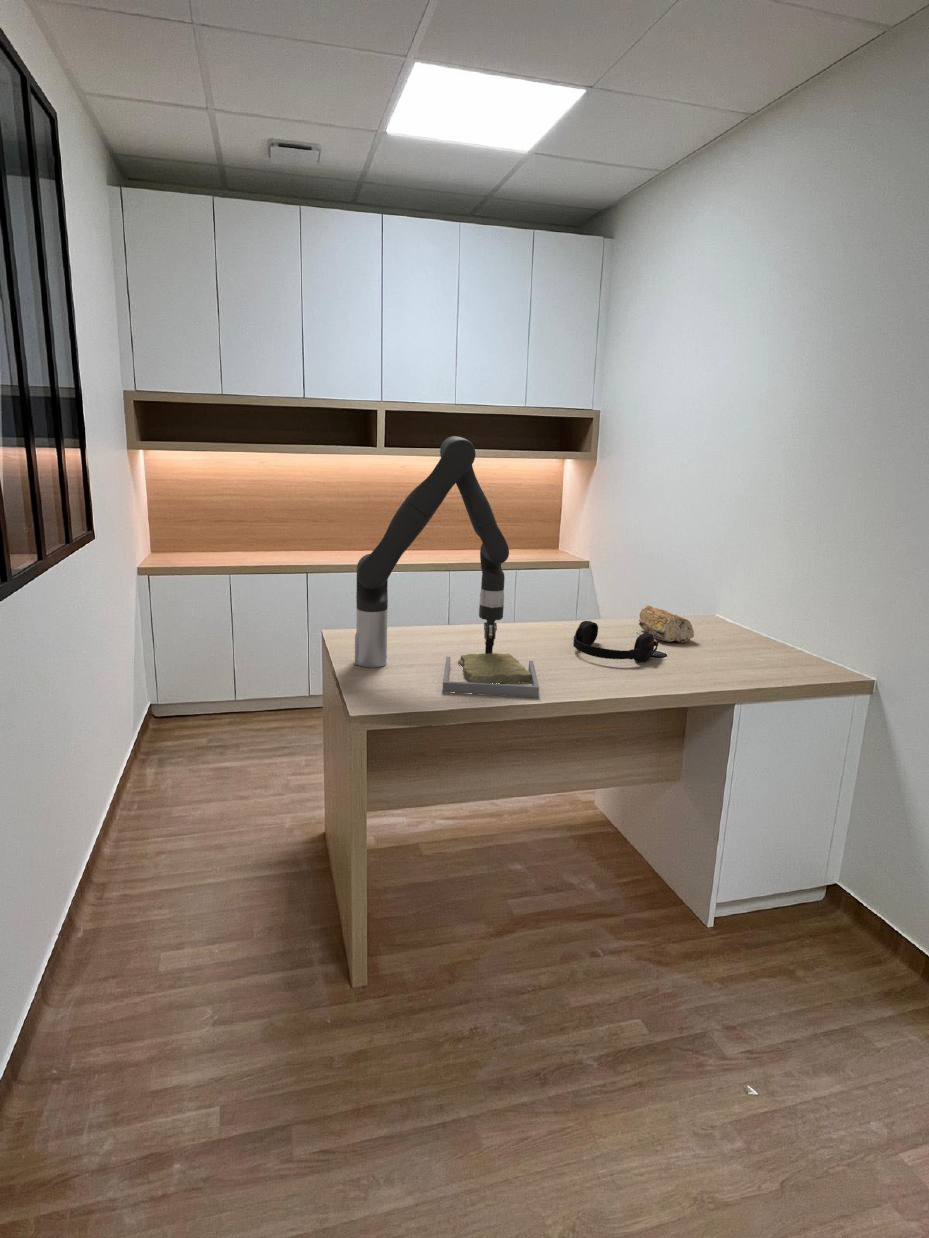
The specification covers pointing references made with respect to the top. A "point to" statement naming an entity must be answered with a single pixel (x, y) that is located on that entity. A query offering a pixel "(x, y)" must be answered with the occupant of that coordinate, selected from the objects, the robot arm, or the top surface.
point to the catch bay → (492, 685)
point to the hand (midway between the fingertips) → (488, 656)
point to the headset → (640, 652)
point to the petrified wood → (665, 625)
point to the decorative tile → (493, 668)
